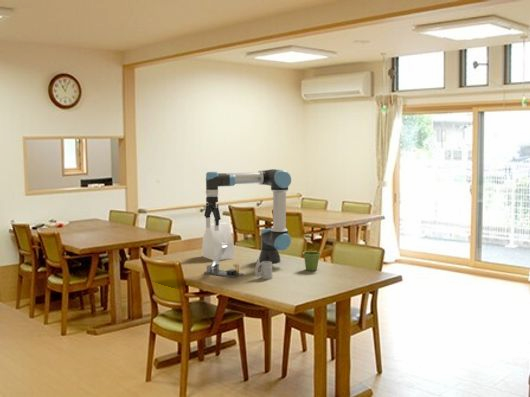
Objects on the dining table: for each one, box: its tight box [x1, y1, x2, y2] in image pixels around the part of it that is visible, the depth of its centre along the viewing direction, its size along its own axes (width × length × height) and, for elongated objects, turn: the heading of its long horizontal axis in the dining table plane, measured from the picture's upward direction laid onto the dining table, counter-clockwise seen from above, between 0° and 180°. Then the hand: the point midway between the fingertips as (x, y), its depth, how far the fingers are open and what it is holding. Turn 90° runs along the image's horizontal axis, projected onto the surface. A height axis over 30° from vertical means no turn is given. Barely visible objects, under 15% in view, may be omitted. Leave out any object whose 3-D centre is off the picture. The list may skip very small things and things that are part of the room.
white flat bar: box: [210, 245, 228, 269], centre depth 388 cm, size 18×5×2 cm
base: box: [203, 263, 245, 279], centre depth 386 cm, size 24×10×7 cm, turn 57°
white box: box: [201, 221, 235, 261], centre depth 439 cm, size 19×15×25 cm
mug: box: [254, 259, 274, 280], centre depth 375 cm, size 8×12×12 cm, turn 116°
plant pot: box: [302, 250, 322, 272], centre depth 399 cm, size 12×12×11 cm
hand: (212, 229), depth 389 cm, fingers open, 13 cm apart
